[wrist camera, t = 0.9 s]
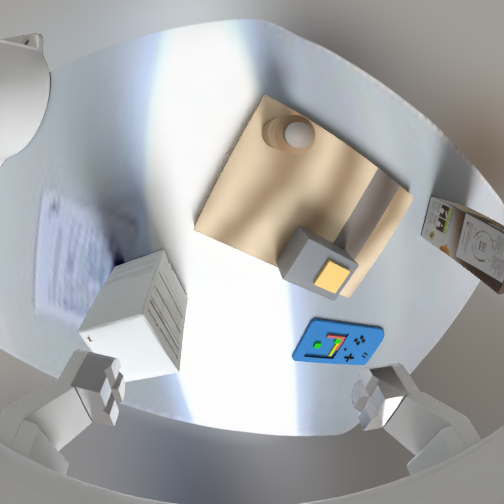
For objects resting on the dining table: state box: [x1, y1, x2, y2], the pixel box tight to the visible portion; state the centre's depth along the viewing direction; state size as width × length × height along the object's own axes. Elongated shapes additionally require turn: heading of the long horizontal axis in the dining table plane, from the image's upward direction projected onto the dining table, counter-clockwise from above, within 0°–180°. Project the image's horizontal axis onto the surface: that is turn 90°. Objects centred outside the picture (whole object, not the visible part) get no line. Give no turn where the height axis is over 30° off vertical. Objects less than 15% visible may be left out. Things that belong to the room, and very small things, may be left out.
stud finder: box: [276, 225, 359, 301], centre depth 31 cm, size 7×5×4 cm
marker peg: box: [262, 115, 315, 155], centre depth 23 cm, size 3×3×8 cm
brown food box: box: [421, 197, 504, 294], centre depth 27 cm, size 9×6×16 cm
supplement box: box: [78, 249, 187, 382], centre depth 27 cm, size 7×7×13 cm
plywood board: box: [194, 95, 414, 298], centre depth 31 cm, size 22×16×1 cm
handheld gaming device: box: [292, 319, 384, 365], centre depth 41 cm, size 8×1×15 cm
